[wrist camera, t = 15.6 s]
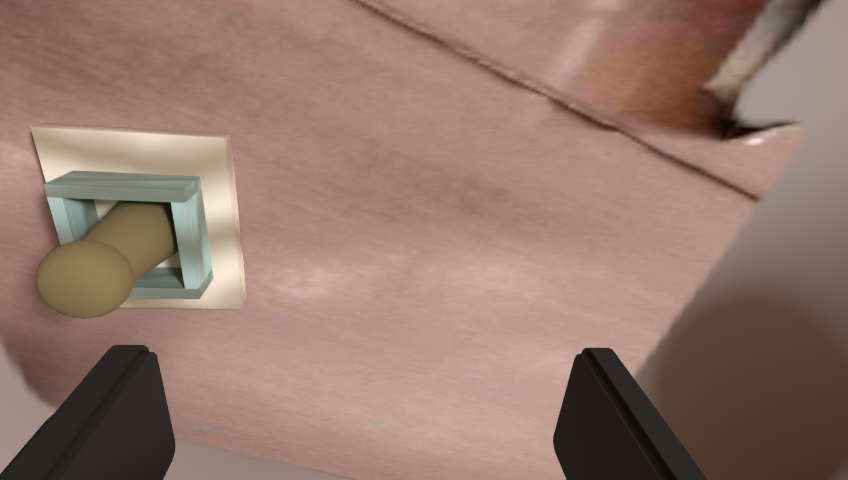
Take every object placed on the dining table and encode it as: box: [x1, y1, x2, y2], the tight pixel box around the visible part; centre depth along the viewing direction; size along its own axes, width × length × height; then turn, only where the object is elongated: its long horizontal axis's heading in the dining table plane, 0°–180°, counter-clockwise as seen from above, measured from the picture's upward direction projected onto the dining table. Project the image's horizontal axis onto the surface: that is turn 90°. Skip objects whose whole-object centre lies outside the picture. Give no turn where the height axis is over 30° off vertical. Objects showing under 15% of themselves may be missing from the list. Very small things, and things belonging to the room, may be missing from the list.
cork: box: [36, 200, 179, 319], centre depth 33 cm, size 6×6×11 cm
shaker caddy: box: [30, 123, 247, 309], centre depth 37 cm, size 16×14×5 cm
